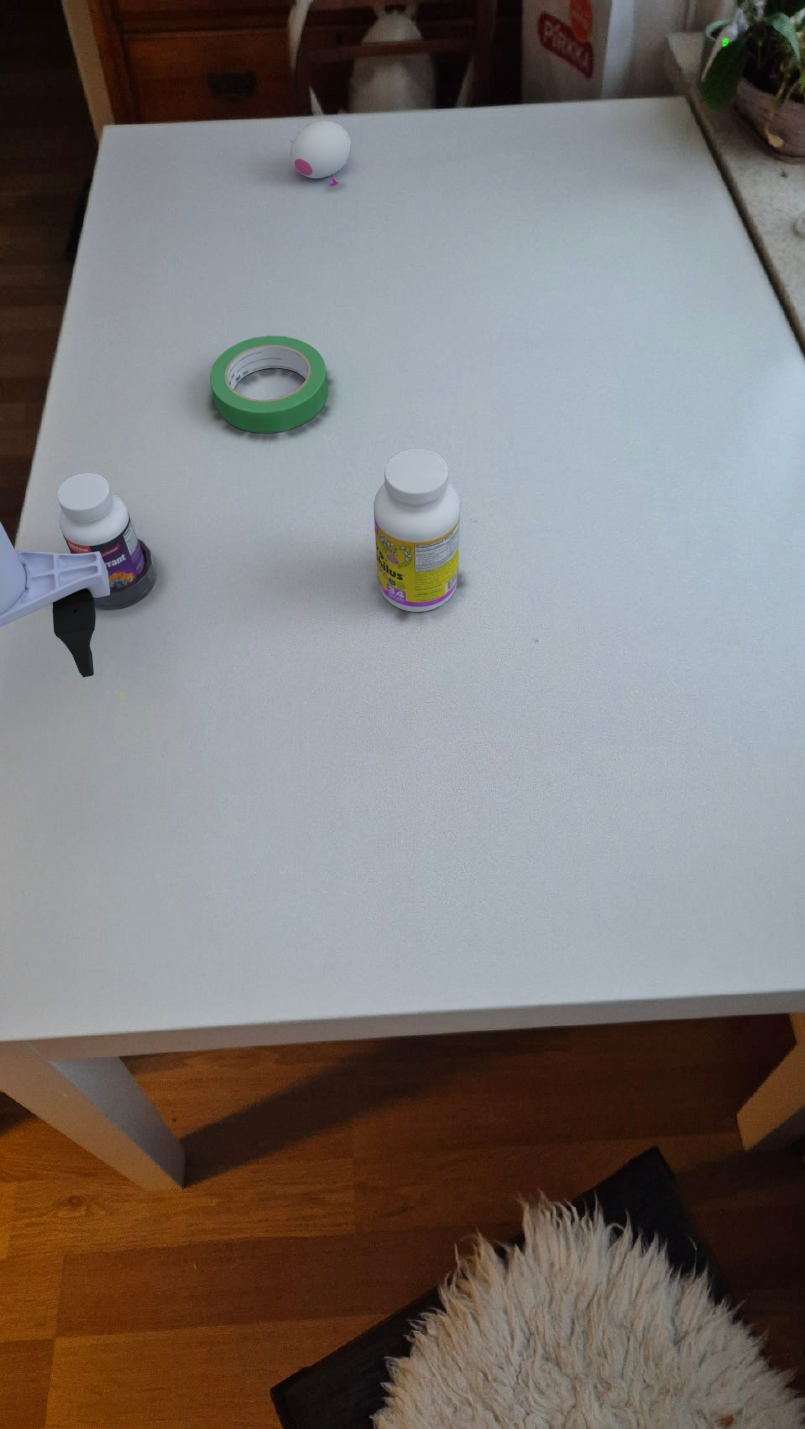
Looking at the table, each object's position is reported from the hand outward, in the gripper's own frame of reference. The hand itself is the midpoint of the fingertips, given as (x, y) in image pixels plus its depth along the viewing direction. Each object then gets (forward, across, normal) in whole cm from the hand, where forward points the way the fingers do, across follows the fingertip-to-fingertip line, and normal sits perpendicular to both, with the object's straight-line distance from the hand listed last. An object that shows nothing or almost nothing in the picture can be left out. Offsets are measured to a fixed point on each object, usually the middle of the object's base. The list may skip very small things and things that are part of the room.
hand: (29, 676), depth 67 cm
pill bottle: (+10, -4, -17) cm, 20 cm away
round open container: (+10, -4, -17) cm, 20 cm away
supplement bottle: (+11, -29, -10) cm, 32 cm away
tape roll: (+11, -21, -37) cm, 44 cm away
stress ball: (+11, -33, -75) cm, 83 cm away
